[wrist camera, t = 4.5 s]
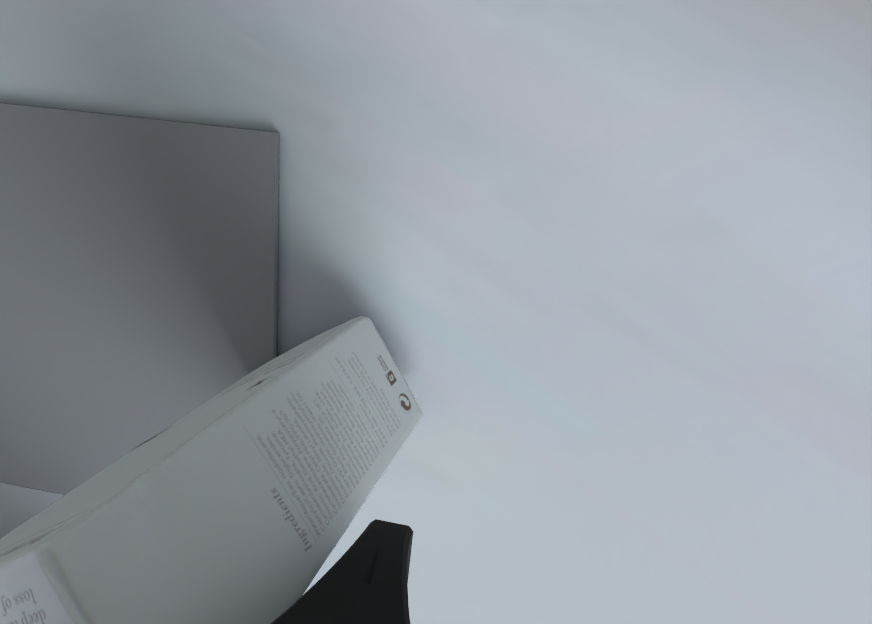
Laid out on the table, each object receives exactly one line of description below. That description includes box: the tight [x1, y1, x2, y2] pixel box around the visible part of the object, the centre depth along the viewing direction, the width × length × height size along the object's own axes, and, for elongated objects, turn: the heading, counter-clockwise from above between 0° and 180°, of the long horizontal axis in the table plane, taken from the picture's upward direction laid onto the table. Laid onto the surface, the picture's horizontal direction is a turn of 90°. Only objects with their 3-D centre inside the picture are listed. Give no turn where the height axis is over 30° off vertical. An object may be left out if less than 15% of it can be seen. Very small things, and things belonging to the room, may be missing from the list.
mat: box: [0, 103, 279, 495], centre depth 22 cm, size 16×16×1 cm
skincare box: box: [0, 316, 422, 624], centre depth 15 cm, size 6×4×12 cm
